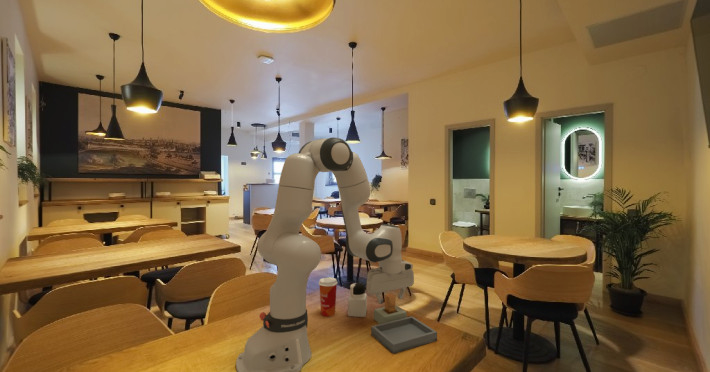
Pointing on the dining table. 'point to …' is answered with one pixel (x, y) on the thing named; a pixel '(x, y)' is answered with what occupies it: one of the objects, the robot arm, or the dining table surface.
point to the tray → (403, 334)
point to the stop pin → (390, 303)
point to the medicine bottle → (357, 300)
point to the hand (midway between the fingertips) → (390, 300)
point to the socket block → (388, 315)
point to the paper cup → (328, 296)
